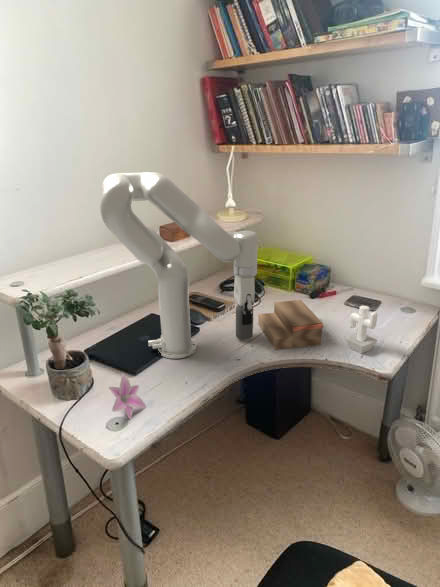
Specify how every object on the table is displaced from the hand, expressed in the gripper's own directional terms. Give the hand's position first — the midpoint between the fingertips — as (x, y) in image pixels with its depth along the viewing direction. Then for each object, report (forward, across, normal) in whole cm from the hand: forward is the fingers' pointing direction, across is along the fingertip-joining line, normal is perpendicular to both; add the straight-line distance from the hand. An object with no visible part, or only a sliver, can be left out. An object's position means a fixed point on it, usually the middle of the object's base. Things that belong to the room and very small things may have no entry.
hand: (244, 319), depth 154 cm
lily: (+9, +32, -40) cm, 52 cm away
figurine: (+7, +16, +35) cm, 39 cm away
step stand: (+7, 0, +16) cm, 17 cm away
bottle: (+6, 0, 0) cm, 6 cm away
